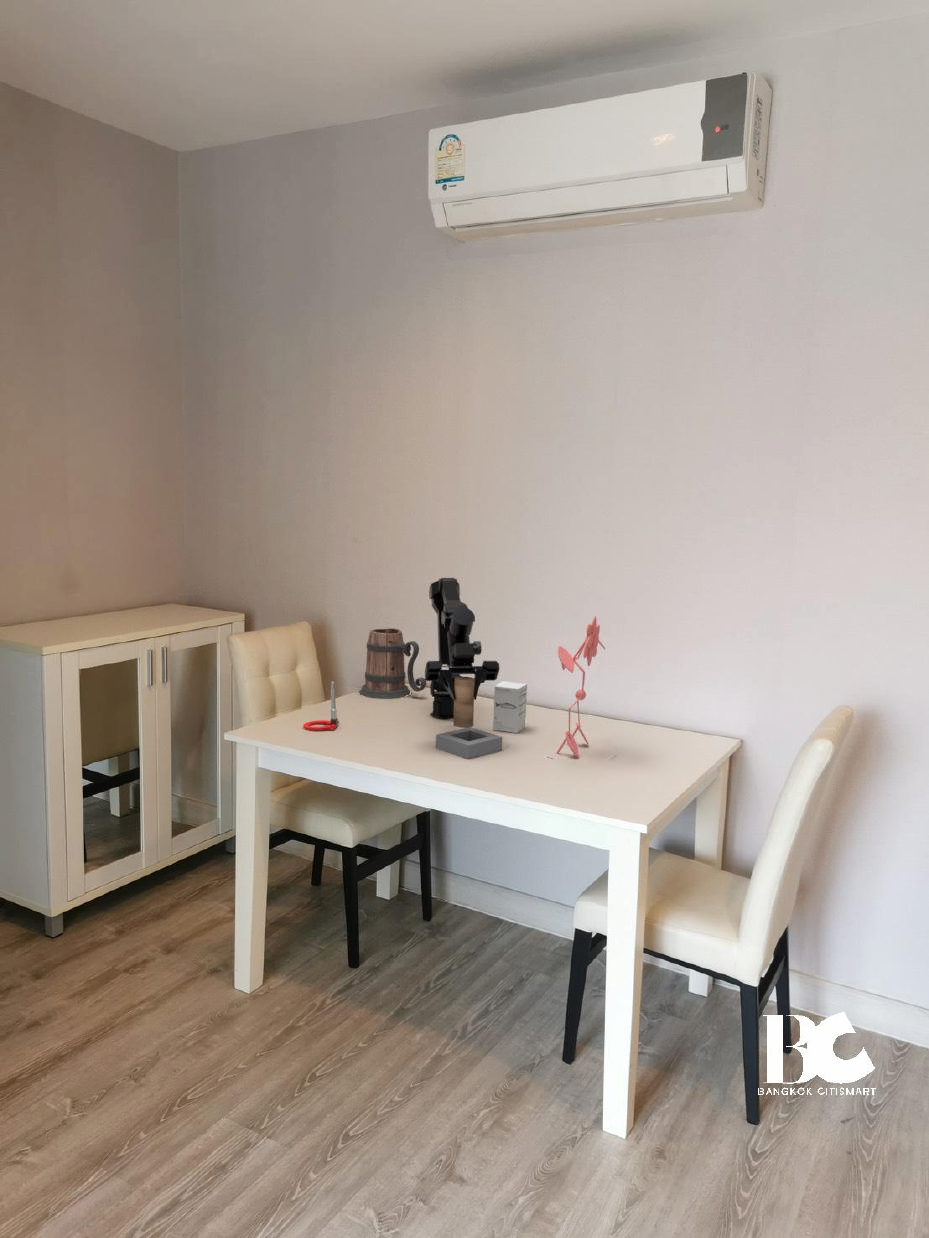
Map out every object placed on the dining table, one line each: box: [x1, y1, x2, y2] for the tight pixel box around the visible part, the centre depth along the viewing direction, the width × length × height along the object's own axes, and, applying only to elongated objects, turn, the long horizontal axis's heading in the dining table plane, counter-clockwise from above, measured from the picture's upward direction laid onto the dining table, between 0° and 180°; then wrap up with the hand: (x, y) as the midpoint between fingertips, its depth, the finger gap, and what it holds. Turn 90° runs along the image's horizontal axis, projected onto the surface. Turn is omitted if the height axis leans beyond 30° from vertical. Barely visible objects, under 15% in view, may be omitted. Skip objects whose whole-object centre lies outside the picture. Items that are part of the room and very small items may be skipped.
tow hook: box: [302, 681, 340, 732], centre depth 254 cm, size 8×13×9 cm
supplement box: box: [492, 680, 528, 734], centre depth 257 cm, size 7×7×13 cm
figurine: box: [546, 615, 616, 760], centre depth 235 cm, size 15×26×35 cm, turn 158°
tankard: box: [358, 627, 427, 700], centre depth 293 cm, size 24×17×20 cm
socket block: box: [435, 726, 503, 760], centre depth 238 cm, size 12×12×4 cm
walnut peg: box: [453, 676, 475, 729], centre depth 236 cm, size 5×5×12 cm
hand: (464, 699), depth 235 cm, fingers closed on walnut peg, 5 cm apart
